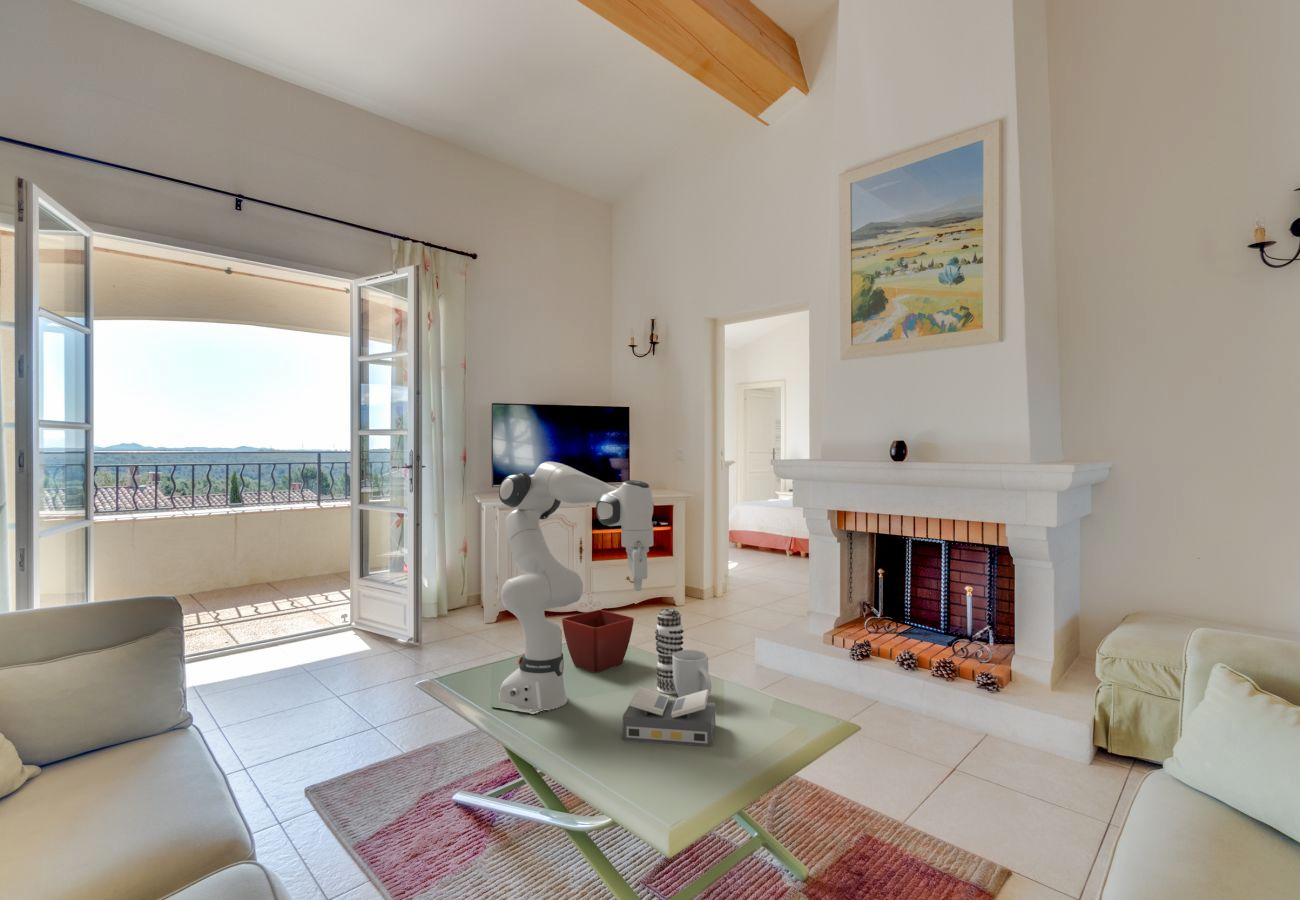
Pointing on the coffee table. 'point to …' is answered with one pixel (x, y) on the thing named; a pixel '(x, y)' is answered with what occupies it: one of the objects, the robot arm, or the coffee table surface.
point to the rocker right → (690, 703)
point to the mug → (690, 672)
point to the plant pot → (597, 639)
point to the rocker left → (649, 701)
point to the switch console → (670, 726)
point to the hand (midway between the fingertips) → (637, 590)
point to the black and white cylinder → (667, 647)
